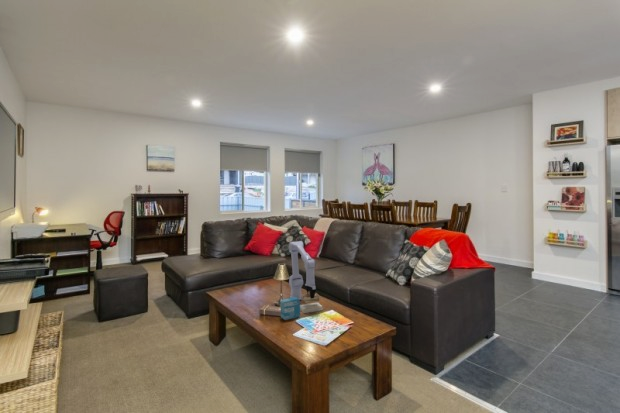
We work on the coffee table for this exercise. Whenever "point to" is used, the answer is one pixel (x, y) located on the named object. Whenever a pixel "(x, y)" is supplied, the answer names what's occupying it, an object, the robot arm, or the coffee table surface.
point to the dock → (311, 307)
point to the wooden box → (308, 298)
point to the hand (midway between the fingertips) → (310, 296)
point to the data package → (290, 308)
